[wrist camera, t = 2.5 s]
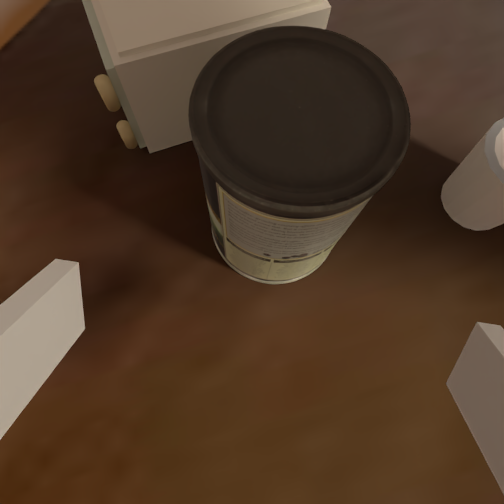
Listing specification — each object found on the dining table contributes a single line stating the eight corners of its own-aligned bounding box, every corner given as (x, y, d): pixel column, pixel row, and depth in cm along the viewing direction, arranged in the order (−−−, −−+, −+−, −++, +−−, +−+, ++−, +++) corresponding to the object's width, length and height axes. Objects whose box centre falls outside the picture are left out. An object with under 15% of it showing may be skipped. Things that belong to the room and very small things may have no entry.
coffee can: (185, 216, 30) (142, 93, 17) (279, 149, 33) (307, -7, 19) (266, 313, 28) (291, 259, 15) (361, 233, 30) (458, 123, 17)
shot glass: (527, 225, 31) (606, 185, 24) (455, 247, 30) (516, 211, 24) (489, 157, 33) (552, 103, 26) (420, 175, 32) (467, 124, 26)
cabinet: (306, 105, 34) (333, 2, 25) (132, 160, 32) (86, 68, 22) (258, 13, 37) (265, -109, 28) (96, 56, 35) (44, -62, 26)
